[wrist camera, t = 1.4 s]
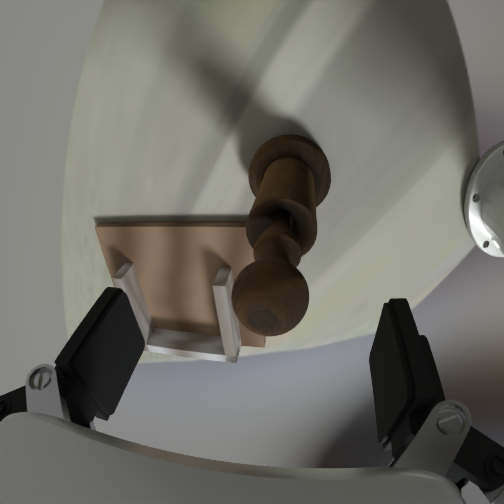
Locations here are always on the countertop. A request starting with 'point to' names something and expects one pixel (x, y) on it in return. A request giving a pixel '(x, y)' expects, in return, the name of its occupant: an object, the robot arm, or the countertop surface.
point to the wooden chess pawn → (280, 233)
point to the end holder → (182, 284)
